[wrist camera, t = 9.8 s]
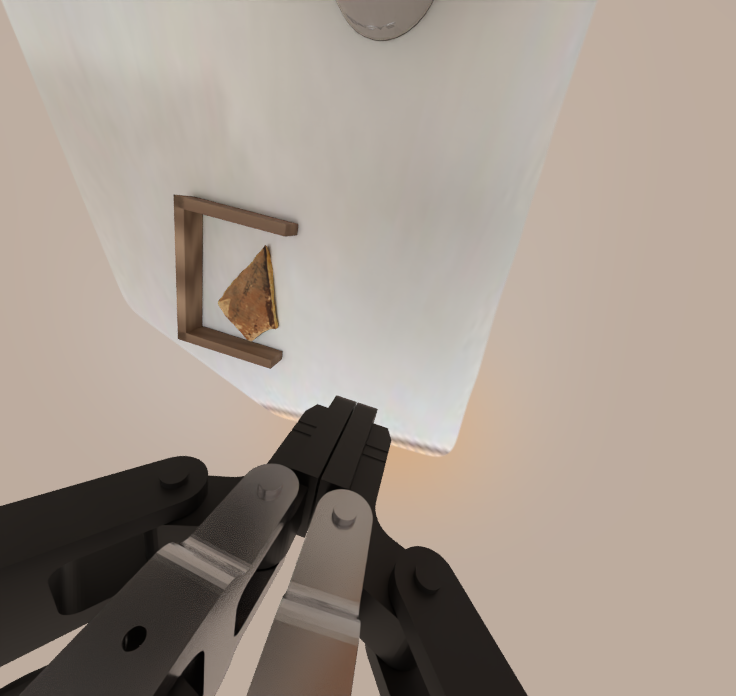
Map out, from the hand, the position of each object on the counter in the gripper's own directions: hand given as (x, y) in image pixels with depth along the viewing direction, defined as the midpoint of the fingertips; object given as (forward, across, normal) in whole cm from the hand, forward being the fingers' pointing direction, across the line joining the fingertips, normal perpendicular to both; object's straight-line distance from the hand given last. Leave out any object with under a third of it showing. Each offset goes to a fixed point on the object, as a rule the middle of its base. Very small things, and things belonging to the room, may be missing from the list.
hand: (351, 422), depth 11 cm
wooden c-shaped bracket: (+26, +20, +6) cm, 34 cm away
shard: (+27, +20, +7) cm, 34 cm away
